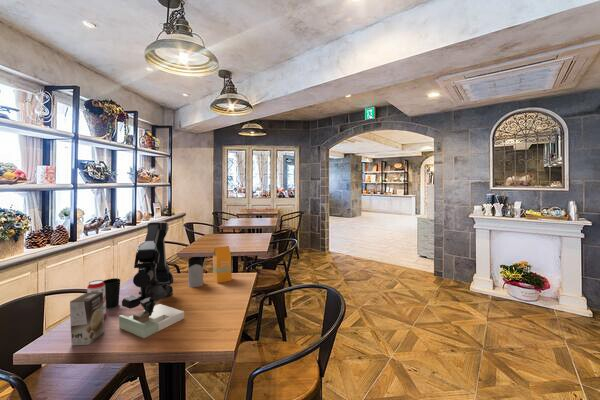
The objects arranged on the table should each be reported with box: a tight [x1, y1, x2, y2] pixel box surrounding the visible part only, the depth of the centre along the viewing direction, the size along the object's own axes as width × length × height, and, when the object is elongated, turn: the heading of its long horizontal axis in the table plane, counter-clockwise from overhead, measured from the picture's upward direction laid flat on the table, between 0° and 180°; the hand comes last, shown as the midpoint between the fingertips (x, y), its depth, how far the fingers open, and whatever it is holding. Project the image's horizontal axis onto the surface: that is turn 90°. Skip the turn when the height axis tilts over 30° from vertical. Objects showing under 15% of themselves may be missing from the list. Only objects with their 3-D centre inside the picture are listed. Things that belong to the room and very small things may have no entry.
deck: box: [118, 303, 185, 339], centre depth 119 cm, size 16×18×5 cm
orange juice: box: [212, 245, 233, 284], centre depth 171 cm, size 8×9×20 cm
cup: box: [103, 277, 121, 310], centre depth 135 cm, size 8×8×12 cm
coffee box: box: [69, 292, 105, 346], centre depth 107 cm, size 9×6×16 cm
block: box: [132, 310, 149, 323], centre depth 115 cm, size 4×4×3 cm
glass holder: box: [187, 256, 205, 288], centre depth 166 cm, size 9×14×15 cm, turn 21°
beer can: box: [86, 279, 107, 319], centre depth 122 cm, size 6×6×16 cm
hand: (149, 315), depth 118 cm, fingers closed
